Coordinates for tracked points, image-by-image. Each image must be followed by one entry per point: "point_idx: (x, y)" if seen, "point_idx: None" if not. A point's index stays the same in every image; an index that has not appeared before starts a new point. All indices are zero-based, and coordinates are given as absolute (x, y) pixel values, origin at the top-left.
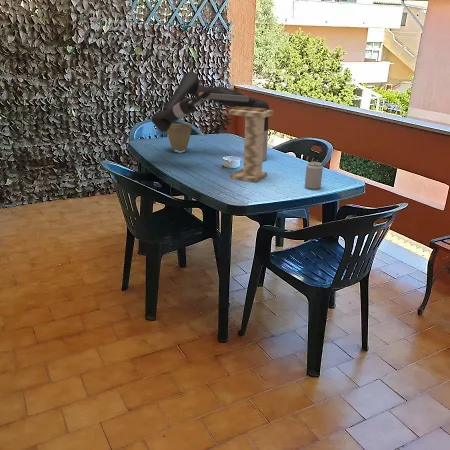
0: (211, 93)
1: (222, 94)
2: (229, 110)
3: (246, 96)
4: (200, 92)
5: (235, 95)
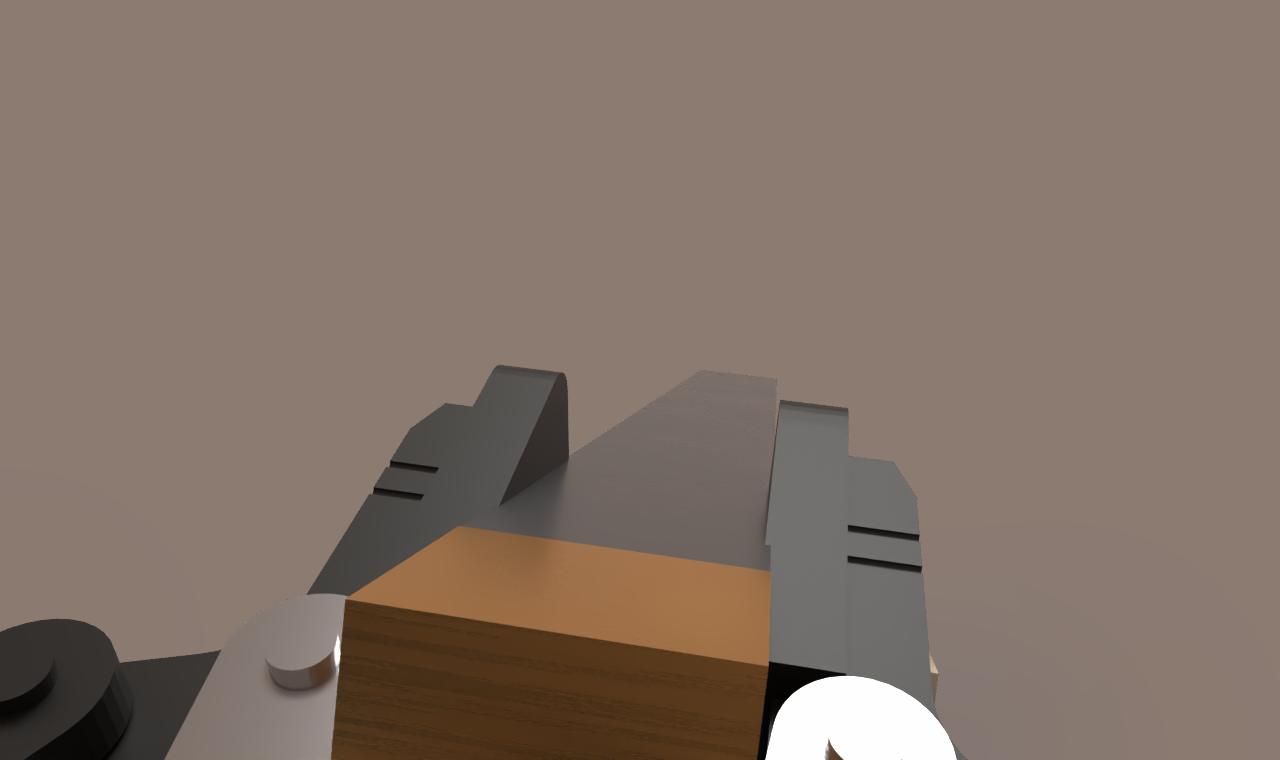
0: (665, 462)
1: (735, 417)
2: (935, 673)
3: (771, 378)
4: (444, 614)
5: (745, 390)
